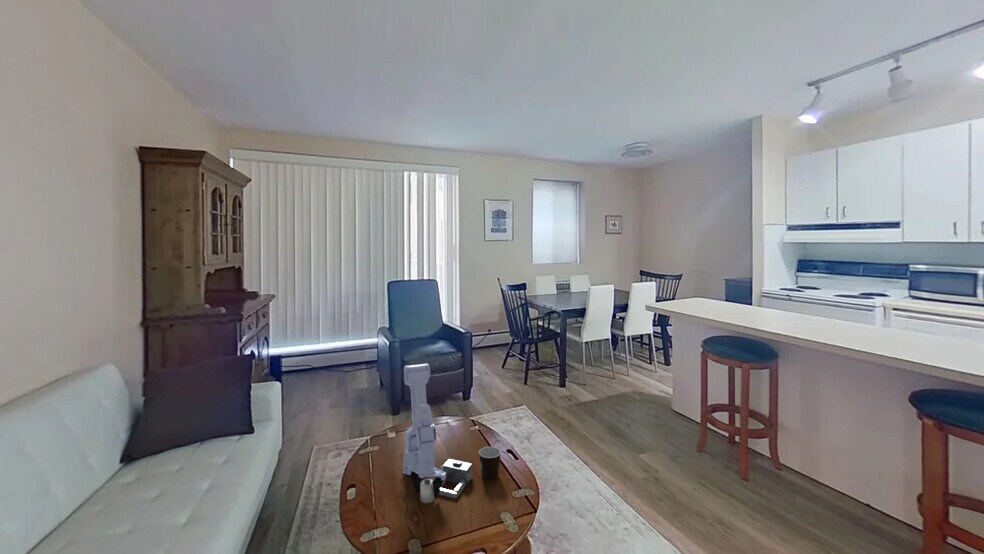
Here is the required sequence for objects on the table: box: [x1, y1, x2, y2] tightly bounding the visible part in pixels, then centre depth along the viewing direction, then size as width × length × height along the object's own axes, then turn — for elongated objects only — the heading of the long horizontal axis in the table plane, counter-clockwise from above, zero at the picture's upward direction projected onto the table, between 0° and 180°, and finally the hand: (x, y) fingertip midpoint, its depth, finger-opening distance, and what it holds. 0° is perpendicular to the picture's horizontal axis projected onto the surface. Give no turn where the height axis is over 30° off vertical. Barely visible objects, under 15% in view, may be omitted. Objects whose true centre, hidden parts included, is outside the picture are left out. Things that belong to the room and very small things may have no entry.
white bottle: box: [419, 477, 435, 504], centre depth 141 cm, size 5×5×7 cm
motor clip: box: [439, 458, 473, 500], centre depth 149 cm, size 12×14×7 cm
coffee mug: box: [478, 446, 502, 482], centre depth 156 cm, size 12×9×10 cm
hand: (427, 494), depth 141 cm, fingers open, 7 cm apart
